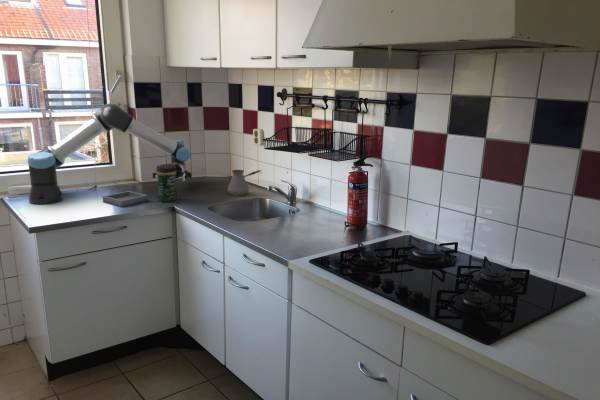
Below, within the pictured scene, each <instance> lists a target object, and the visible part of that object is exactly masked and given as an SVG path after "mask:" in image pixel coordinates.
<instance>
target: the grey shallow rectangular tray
mask: <svg viewBox="0 0 600 400" xmlns="http://www.w3.org/2000/svg"><path fill="white" fill-rule="evenodd" d="M148 201H149V197H148V195H147V194H143V193H140V192H135V191H131V190H126V191H122V192H117V193H112V194H108V195H103V196H102V203H105V204H107V205H110V206H114V207H115V206H116V207H118V208H125V207H128V206H134V205H137V204H141V203H146V202H148Z"/></svg>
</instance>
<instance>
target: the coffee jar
mask: <svg viewBox="0 0 600 400" xmlns="http://www.w3.org/2000/svg"><path fill="white" fill-rule="evenodd" d="M155 173H157V176H158V181H157V195H156V196H157V197H156V198H157V201H159V202H160V203H162V202H165V203H167V202H174V201H177V200H178V199H179V198H178V189H177V183H176V182H177V181H176V179H175V176H176V166H175V165H174V164H171V163H165V164H159V165H156V172H155Z"/></svg>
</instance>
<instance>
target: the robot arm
mask: <svg viewBox="0 0 600 400" xmlns="http://www.w3.org/2000/svg"><path fill="white" fill-rule="evenodd" d="M91 117H92V118H91V119H90V120H87V122H85V123H84V124H82V125H80V127H78V128H76V129H75V130H74V131H73V132H71V133H70V134H68V135H66V137H64V138H62V139H61V140H60V141H58V142H57V143H55V144H53V145H47V146H45V147H44V148H43V149H41V150H39V151H36V152H33V153H30V154H29V155H28V156H27V164H28V172H29V179H30V191H29V194H28V202H29V203H30V204H32V205H49V204H54V203H58V202H62V201H63V200H64V195H63V192H62V190H61V188H60V185H59V184H58V174H57V169H58V168H60V167H61V166H62V165H64V164H65V160H66V159H67V158H69V157H70V156H71V155H72V154H74V153H76V152H77V151H79V150H80V149H81V148H83V147H84V146H86V144H88V143H90V142H91V141H92V140H94V139H95V138H96V137H98V136H100V135H101V134H103V133H109V132H110V131H112V130H113V129H115V130H117V131H120V132H122V133H124V134H126V133H128V134H130V135H132V136H133V137H135V138H137V139H139V140H141V141H143V142H144V143H147V144H149V145H151V146H152V147H154V148H157V149H158V150H160V151H161V152H164V153H165V154H167V155H170V162H171V163H170V164H174V165H175V166H176V176H175V180H176V179H179V178H182V182H185V181H186V179H188V178H189V179H192V172H190V171H187V169H186V163H185V162H188V161H189V159H190V158H191V152H190V150H189V149H188V148H187V147H185V142H184V140H181V139H174V140H172V139H171V138H169V137H166V136H165V135H163V134H162V133H159V132H158V131H156V130H154V129H153V128H150V127H149V126H146V125H145V124H144V123H142V122H139V121H137V120H136V119H135V117H134V116H133V115H131V114H130V113H128V112H127V111H125V110H124V109H123V108H122V107H121V106H119V105H118V104H117V103H110V102H109V103H106V104H104V105H102V106H101V108H100V109H98V110H97V111H95V112H94V113H92V116H91ZM152 179H155V182H158V176H157V173H156V172H152Z"/></svg>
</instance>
